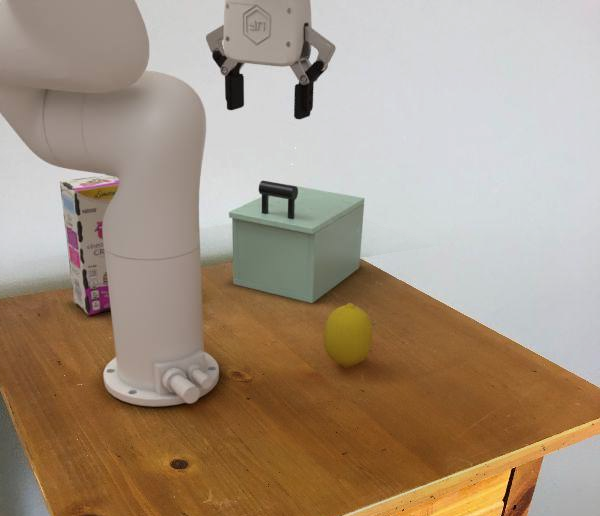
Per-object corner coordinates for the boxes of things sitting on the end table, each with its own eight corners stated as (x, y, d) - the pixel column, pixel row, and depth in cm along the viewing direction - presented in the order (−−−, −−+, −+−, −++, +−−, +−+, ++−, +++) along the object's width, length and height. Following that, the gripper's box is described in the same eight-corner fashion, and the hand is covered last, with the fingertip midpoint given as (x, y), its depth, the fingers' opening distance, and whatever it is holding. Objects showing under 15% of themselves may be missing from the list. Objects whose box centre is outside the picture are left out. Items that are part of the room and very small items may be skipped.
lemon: (332, 352, 90) (335, 290, 86) (376, 362, 88) (381, 299, 84) (314, 372, 86) (317, 308, 82) (360, 383, 84) (365, 317, 80)
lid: (312, 234, 97) (314, 195, 94) (228, 217, 102) (228, 179, 99) (364, 203, 109) (367, 168, 107) (287, 189, 114) (288, 155, 112)
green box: (312, 303, 102) (315, 233, 97) (233, 284, 107) (231, 216, 102) (359, 267, 114) (364, 203, 109) (286, 252, 119) (287, 190, 114)
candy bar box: (89, 317, 96) (73, 190, 88) (73, 304, 100) (56, 180, 91) (166, 298, 102) (158, 177, 94) (149, 286, 106) (139, 168, 97)
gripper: (187, -48, 86) (194, 109, 95) (322, -42, 80) (316, 126, 88) (222, -47, 92) (226, 101, 101) (351, -42, 85) (342, 116, 94)
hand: (268, 112), depth 95 cm, fingers open, 9 cm apart
